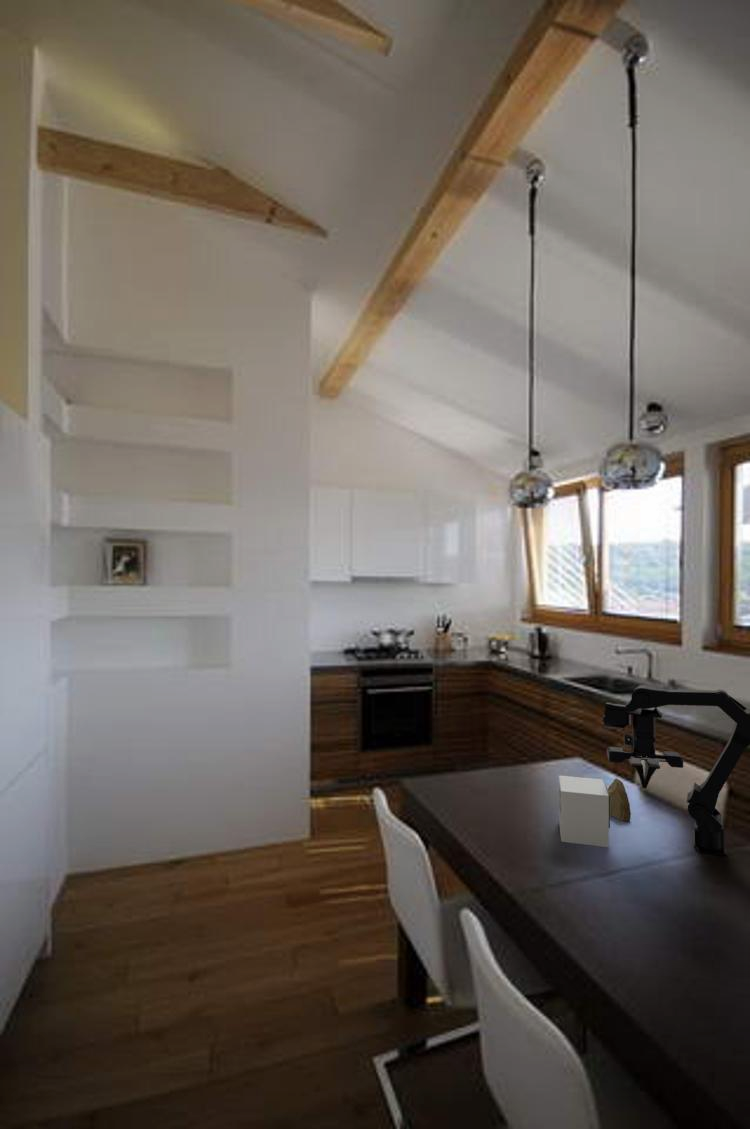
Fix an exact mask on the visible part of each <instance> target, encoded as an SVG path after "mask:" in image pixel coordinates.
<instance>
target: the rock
mask: <svg viewBox="0 0 750 1129" xmlns="http://www.w3.org/2000/svg"><path fill="white" fill-rule="evenodd" d="M607 789H608V792H609V795H610V816H612V817H614V818H617V819H619V820H620V821H623V822H624V821H625V822H629V821H630V822H631V815H632V813H631V807H630V806H631V804H630V801H629V800H630V799H629V796H628V794H627V793H628V792H627V791H626V788H625V785H624V782H623V781H622V780H620V779H618V778H614V780H613V781H612V782H611V784H610V785H609V786H608V787H607Z"/></svg>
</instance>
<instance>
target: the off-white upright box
mask: <svg viewBox="0 0 750 1129" xmlns="http://www.w3.org/2000/svg"><path fill="white" fill-rule="evenodd" d="M559 790H560V793H561V812H560V806H559V805H558V824H559V832H560V833H559V835H560V842H563V843H570V844H578V845H585V846H586V845H587V846H595V847H603V848H610V839H609V838H610V829H611V815H610V795H609V792H608V786H607V784H605V783H604V779H603V778H590V777H579V776H578V777H577V776H570V775H558V791H559Z"/></svg>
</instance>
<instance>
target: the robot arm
mask: <svg viewBox="0 0 750 1129" xmlns="http://www.w3.org/2000/svg"><path fill="white" fill-rule="evenodd" d="M663 706H664V707H665V706H702V707H705V706H706V707H718V708H719V709H720V710H722V711H723V712H724V713H725V714H726V716H728V717H729V718H730V719H732V721H734V724H733V727H732V732H731V735H730V737H729V740H728V741H727V743H726V745H725V747H724V748H723V750H722V752H721V754H720V755H719V757H718V758H717V760H716V762H715V763H714V765H713V767H712V768H711V771H710V772H709V773H708V775H707V777H706V778H705V780H704V782H702V783H701V784H700V785H699V784H697V783H696V782H694V783H693V785H692V788H691V790H690V792H688V793H687V794H686V795H687V797H686V803H687V812H688V815H690V818H692V819H693V820H694V824H693V825H694V826H693V827H692V829H691V832H692V833H691V836H692V838H691V839H692V844H693V846H694V847H695V848H696V850H697V851H698V852H699V853H703V854H704V853H705V854H713V855H719V856H720V855H721V856H727V852H726V850H725V828H724V826H723V818H722V816H723V814H722V813H721V812H720V811H719V810H718V809H717V808H716V806H717V802H718V798H719V795H720V793H721V790H722V789H723V788H724V786H725V784H726V783H727V780H728V779H729V777H730V775H731V774H732V772H733V771H734V769H735V767H736V765H737V764H738V762H739V760H740V759H741V757H742V755H743V754H744V752H745V751H746V750H747V748H748V747H749V746H750V709H749V708H747V707H746V706H745V705H744V704H742V703H741V702H739V701H738V700H737V699H735V698H733V697H732V696H731V695H730V694H729V693H728V692H727V691H726V690H723V689H715V690H714V689H713V690H712V689H711V690H707V689H706V690H705V689H704V690H703V689H700V690H698V689H666V688H662V687H659V686H654V685H648V684H642V685H641V684H640V685H638V686H637V687H635V688H634V690H633V691H632V694H631V698H630V700H629V701H627V702H626V704H617V703H612V702H606V703H605V704H604V707H605V708H604V714H603V716H602V717H603V727H605V728H613V729H620V730H626V729H627V727H631V722H632V734H631V733H630V734H629V733H628V734H627V733H624V734H623V735H622V736H623V737H622V738H623V740H622V741H623V746H625V747H630V750H631V751H624V749H623V748H622V747H616V746H608V747H607V749H606V757H607V759H608V762H611V763H623V762H624V761H625V760H628V763H629V764H630V766H631V767H633V768H635V770H636V773H637V776H638V779H639V781H640V784H641V787H642V789H647V787H648V785H649V783H650V781H651V779H652V777H653V775H654V774H655V772H656V771H657V770H660V769H661V766H660V765H659V764H660V763H661V762H662V763H667V765H668V766H670V768H677V769H678V768H679V769H680V768H681V769H682V768H684V758H683V757H682V756H681V755H680V753H678V751H670V750H669V751H668V750H666V751H665V750H663V752H662V754H659V753H656V719H662V718H663V713H662V712H661V711H660V710H659V709H658V708H660V707H663ZM639 709H640V710H639ZM631 715H632V716H631ZM631 718H632V721H631ZM642 761H644V765H643V763H642Z"/></svg>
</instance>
